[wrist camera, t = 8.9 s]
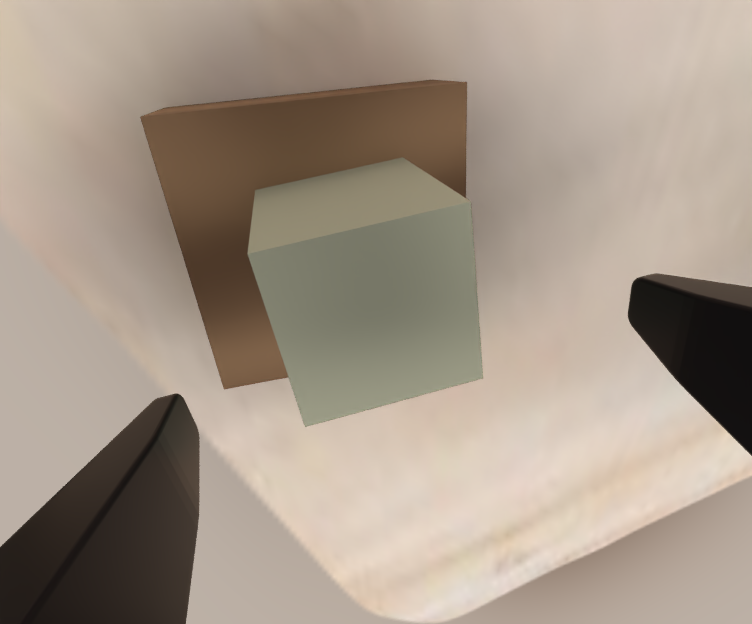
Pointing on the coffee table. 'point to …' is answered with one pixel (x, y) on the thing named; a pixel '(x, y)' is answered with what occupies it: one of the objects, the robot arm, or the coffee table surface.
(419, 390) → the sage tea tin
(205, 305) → the walnut block
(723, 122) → the coffee table surface
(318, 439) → the coffee table surface
